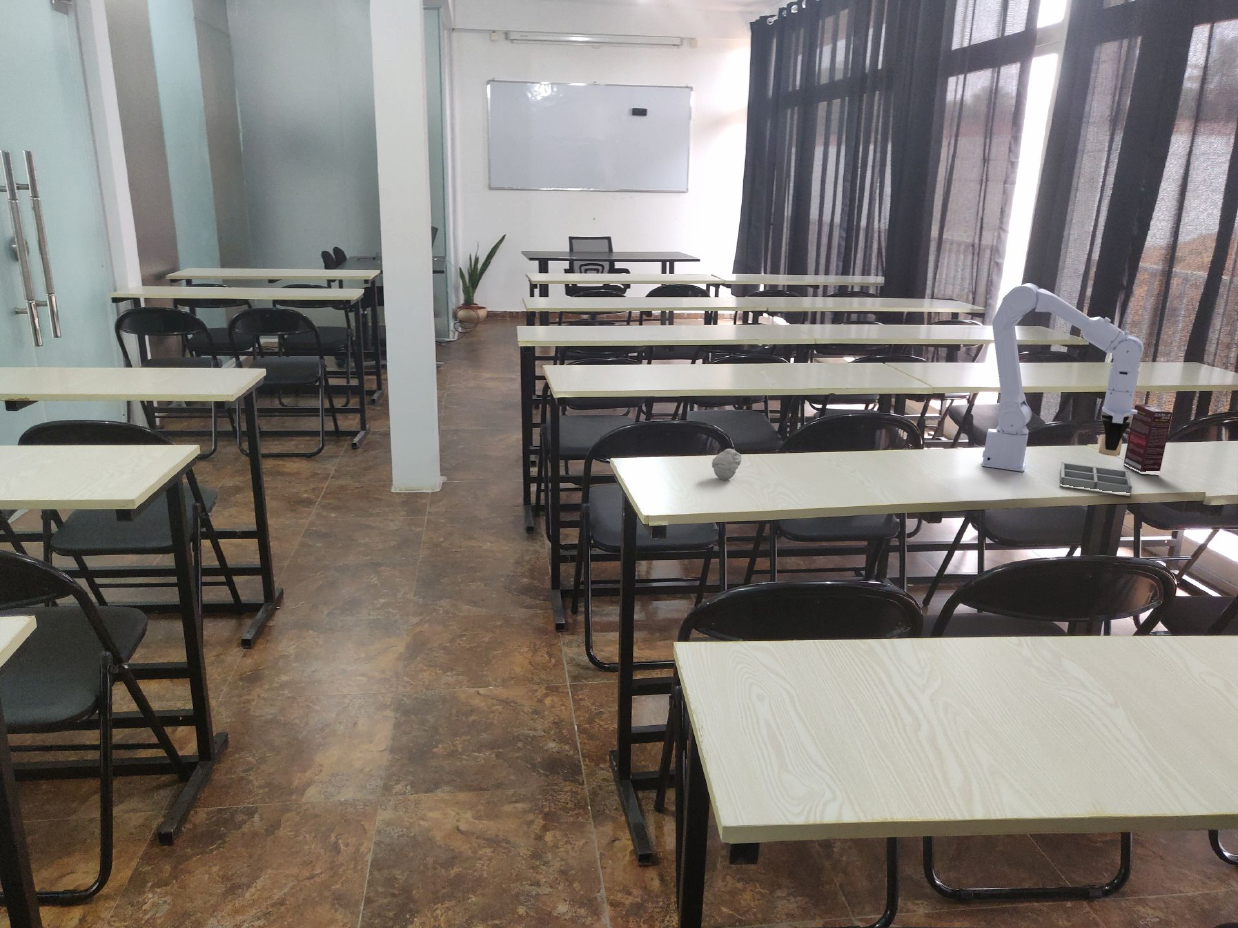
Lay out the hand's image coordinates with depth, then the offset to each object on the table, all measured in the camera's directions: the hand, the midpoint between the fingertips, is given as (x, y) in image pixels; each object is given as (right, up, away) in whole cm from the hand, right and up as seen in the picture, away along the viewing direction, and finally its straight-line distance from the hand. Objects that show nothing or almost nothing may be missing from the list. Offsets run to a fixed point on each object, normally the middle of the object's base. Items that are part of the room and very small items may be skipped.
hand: (1110, 447), depth 206 cm
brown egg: (0, -1, 0) cm, 1 cm away
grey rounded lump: (-90, -7, -4) cm, 90 cm away
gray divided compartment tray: (-3, -8, +1) cm, 9 cm away
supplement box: (+15, -6, +13) cm, 21 cm away
